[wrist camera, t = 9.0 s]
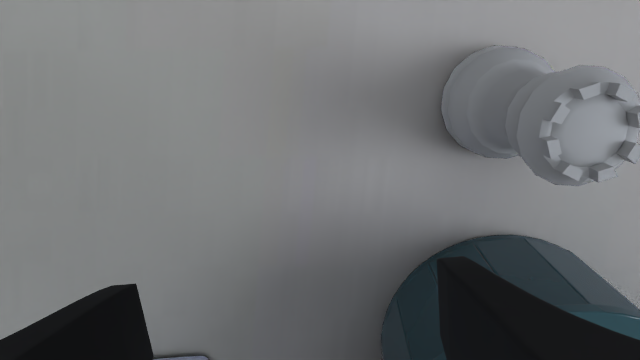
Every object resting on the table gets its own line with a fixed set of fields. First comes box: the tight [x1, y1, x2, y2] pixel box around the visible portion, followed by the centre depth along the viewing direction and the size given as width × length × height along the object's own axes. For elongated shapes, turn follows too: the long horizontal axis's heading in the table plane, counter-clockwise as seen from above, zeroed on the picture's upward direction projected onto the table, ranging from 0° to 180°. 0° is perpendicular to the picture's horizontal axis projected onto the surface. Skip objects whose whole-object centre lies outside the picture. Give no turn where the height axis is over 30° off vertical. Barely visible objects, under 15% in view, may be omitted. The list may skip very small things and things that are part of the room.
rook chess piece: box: [441, 45, 640, 186], centre depth 15 cm, size 4×4×8 cm
